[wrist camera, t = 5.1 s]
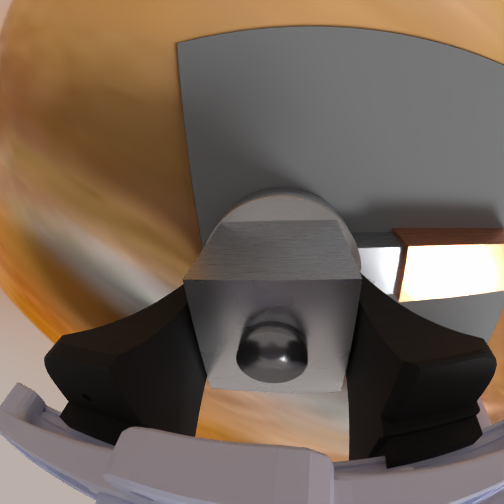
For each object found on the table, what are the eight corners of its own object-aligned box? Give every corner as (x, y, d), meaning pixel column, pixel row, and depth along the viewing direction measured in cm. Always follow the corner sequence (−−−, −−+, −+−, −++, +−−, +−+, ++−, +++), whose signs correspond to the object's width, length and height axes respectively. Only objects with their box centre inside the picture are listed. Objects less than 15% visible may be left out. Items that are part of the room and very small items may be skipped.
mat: (481, 350, 15) (482, 353, 15) (229, 371, 18) (228, 374, 18) (527, 78, 7) (530, 78, 7) (179, 44, 10) (176, 43, 10)
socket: (330, 314, 13) (341, 404, 8) (233, 314, 13) (206, 400, 9) (336, 219, 11) (367, 292, 6) (221, 222, 11) (174, 291, 7)
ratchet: (485, 298, 13) (515, 339, 9) (223, 313, 16) (204, 367, 12) (509, 193, 10) (555, 219, 7) (203, 191, 13) (168, 220, 9)
